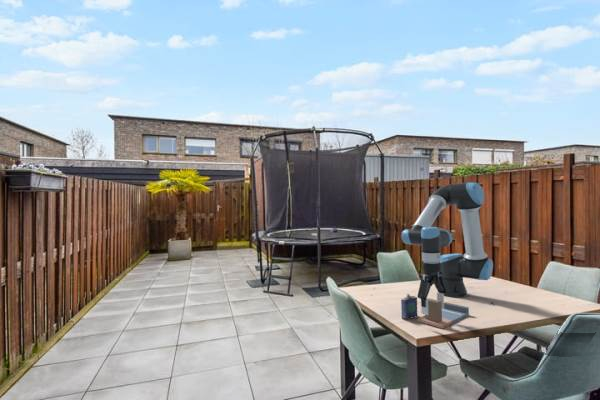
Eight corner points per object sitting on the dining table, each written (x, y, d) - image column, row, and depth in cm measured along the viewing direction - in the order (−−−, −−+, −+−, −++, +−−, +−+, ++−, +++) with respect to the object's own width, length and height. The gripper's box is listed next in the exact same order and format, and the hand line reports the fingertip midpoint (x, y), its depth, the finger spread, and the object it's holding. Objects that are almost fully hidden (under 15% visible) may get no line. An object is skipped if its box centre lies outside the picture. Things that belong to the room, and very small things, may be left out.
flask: (404, 320, 137) (403, 296, 138) (399, 318, 140) (398, 294, 140) (419, 316, 141) (418, 293, 142) (414, 314, 144) (413, 291, 145)
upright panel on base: (417, 321, 134) (417, 299, 135) (428, 316, 140) (427, 295, 140) (442, 328, 126) (441, 304, 126) (452, 323, 131) (451, 300, 132)
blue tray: (428, 317, 140) (428, 309, 140) (445, 309, 150) (445, 302, 150) (452, 323, 132) (452, 315, 132) (468, 315, 142) (468, 307, 142)
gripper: (424, 266, 123) (426, 319, 122) (453, 259, 138) (455, 306, 137) (407, 264, 129) (409, 315, 128) (437, 258, 144) (438, 303, 143)
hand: (433, 310), depth 132 cm, fingers open, 13 cm apart
